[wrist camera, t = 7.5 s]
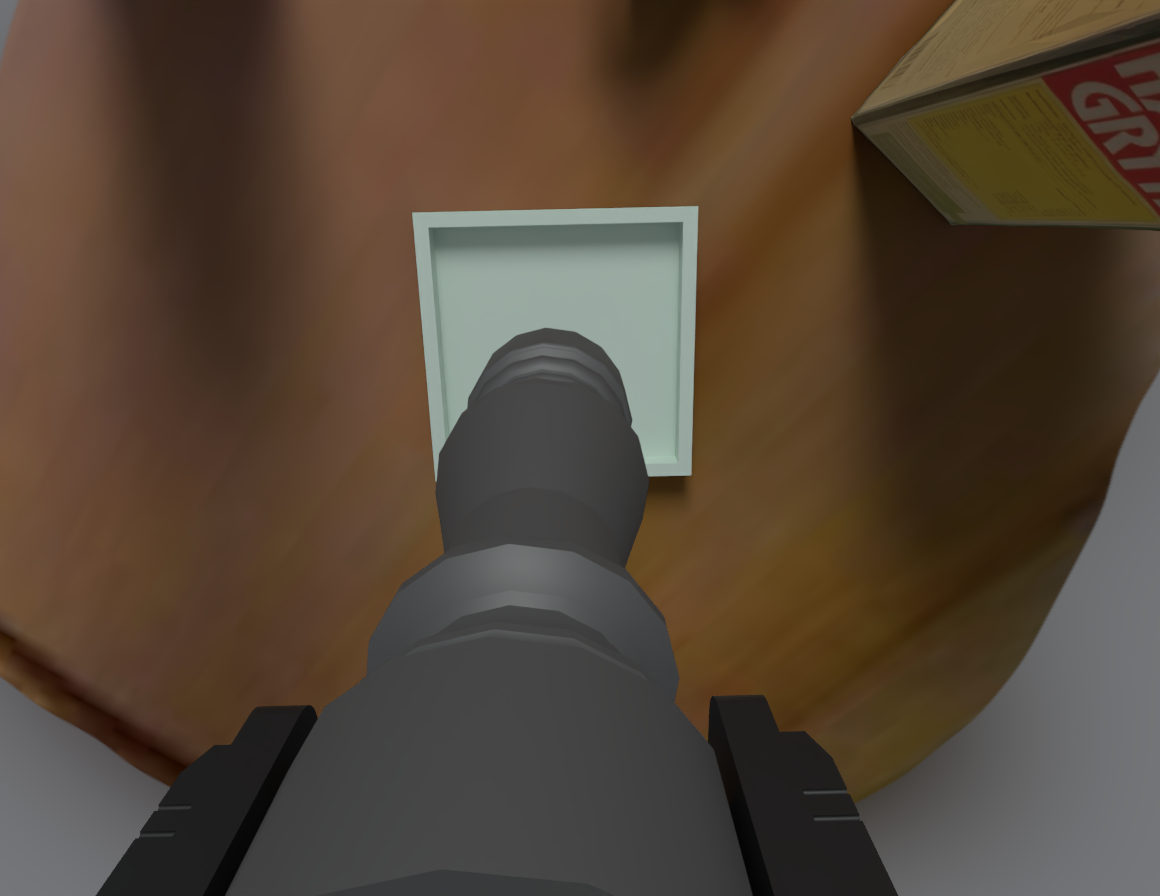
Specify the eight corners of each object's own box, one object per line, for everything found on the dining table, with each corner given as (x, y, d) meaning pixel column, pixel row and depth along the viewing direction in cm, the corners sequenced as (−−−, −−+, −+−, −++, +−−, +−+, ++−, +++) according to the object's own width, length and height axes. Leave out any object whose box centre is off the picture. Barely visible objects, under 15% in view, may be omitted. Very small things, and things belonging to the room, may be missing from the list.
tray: (441, 470, 47) (435, 481, 45) (419, 212, 42) (412, 212, 40) (686, 464, 47) (691, 475, 45) (692, 206, 42) (698, 206, 40)
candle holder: (557, 501, 31) (519, 1400, 8) (444, 408, 30) (-26, 1148, 6) (657, 396, 30) (984, 1095, 6) (543, 294, 29) (415, 694, 5)
